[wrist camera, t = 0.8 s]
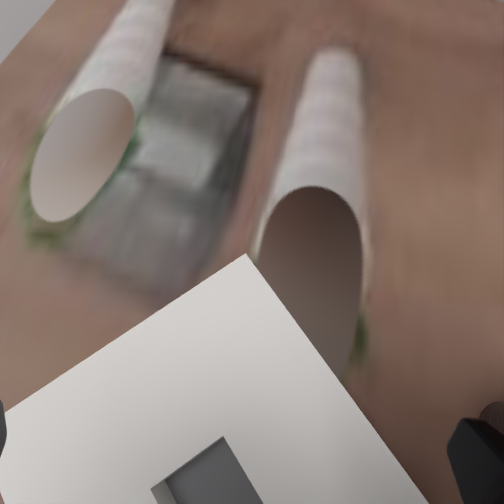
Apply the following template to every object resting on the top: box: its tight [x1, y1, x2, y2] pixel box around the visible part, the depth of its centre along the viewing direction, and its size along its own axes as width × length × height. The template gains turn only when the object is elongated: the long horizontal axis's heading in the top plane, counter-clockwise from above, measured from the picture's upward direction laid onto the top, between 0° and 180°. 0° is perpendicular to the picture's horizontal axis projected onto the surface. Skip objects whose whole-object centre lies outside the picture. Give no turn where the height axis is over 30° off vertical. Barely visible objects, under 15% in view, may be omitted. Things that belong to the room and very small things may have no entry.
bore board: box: [0, 253, 429, 504], centre depth 20 cm, size 18×16×3 cm
